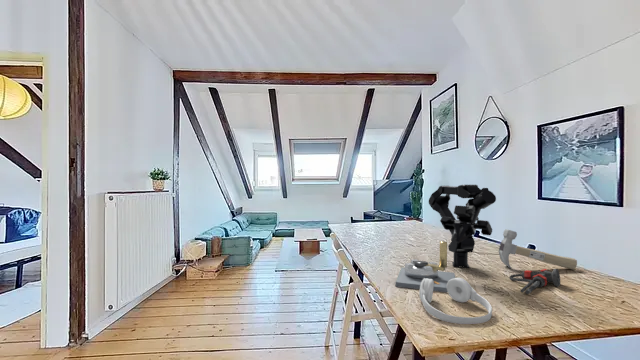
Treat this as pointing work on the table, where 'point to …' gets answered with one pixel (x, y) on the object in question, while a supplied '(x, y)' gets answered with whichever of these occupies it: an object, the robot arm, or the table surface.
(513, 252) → the hammer
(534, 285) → the valve
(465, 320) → the headphones
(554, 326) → the table surface
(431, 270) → the brass lever assembly
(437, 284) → the housing plate
